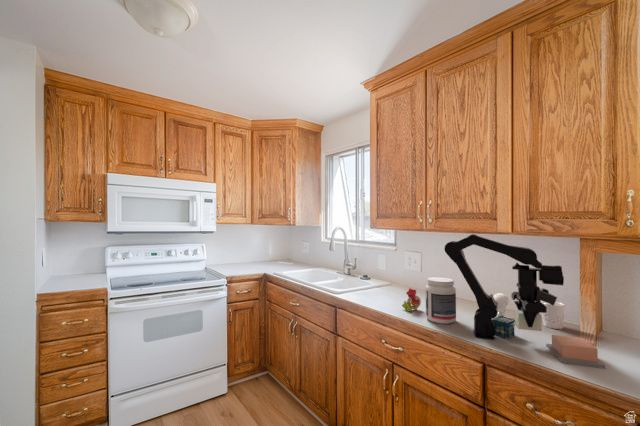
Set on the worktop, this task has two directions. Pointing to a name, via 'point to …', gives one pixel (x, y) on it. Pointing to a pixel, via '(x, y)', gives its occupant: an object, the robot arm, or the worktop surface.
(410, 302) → the bird rattle
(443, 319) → the supplement tub
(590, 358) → the brick base
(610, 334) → the worktop surface
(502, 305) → the light bulb
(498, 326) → the puzzle
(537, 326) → the sage brick
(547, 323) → the white cup
